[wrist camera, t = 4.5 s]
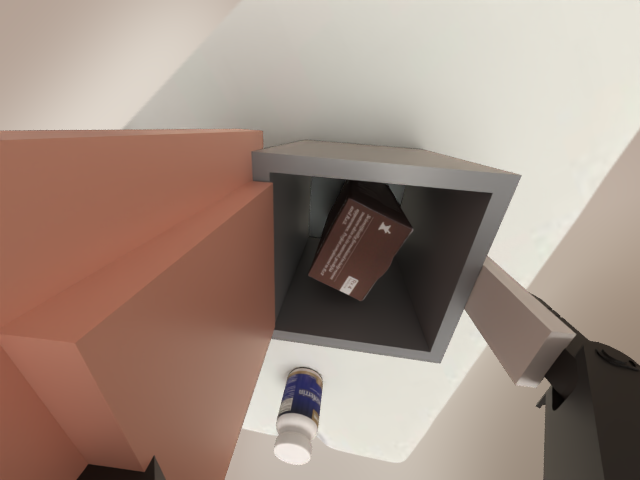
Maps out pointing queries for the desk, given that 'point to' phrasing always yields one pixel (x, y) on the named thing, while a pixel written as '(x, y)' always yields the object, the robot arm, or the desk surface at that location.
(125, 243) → the lid
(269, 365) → the desk surface
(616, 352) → the robot arm
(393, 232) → the box
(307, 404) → the pill bottle
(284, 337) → the bin
